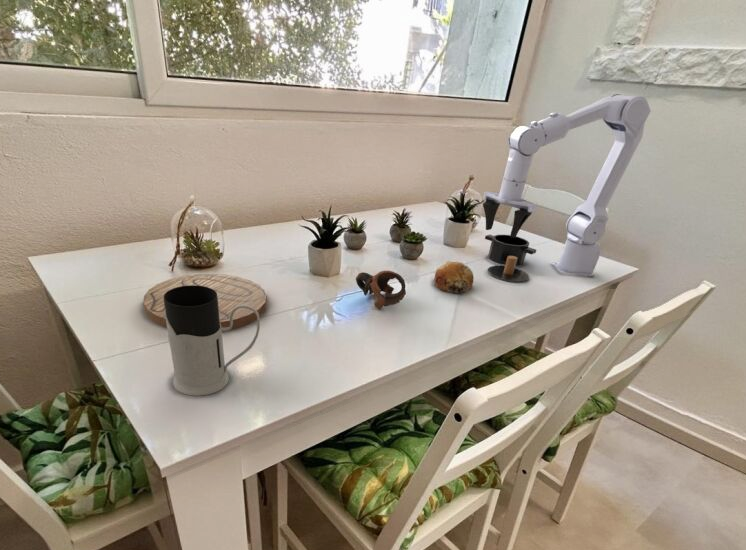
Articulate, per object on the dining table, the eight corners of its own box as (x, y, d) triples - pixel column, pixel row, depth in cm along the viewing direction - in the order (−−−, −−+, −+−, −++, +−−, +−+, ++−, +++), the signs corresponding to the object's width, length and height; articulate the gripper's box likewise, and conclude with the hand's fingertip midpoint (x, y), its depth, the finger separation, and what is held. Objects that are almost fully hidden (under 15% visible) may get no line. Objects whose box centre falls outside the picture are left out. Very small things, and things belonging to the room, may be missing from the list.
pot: (492, 250, 146) (497, 230, 142) (537, 266, 137) (544, 245, 133) (473, 256, 140) (478, 235, 136) (519, 273, 131) (526, 251, 127)
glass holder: (179, 365, 79) (166, 282, 70) (263, 366, 81) (260, 286, 72) (167, 395, 72) (151, 307, 63) (260, 396, 74) (256, 311, 65)
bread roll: (470, 299, 121) (479, 269, 120) (466, 296, 112) (476, 263, 110) (434, 290, 124) (443, 261, 123) (427, 286, 115) (436, 254, 113)
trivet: (225, 343, 86) (224, 334, 85) (116, 314, 92) (114, 305, 91) (286, 295, 106) (286, 287, 104) (193, 273, 112) (192, 266, 110)
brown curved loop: (403, 296, 112) (413, 275, 104) (391, 326, 107) (402, 306, 100) (357, 277, 111) (365, 254, 104) (344, 306, 107) (351, 285, 100)
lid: (500, 266, 134) (505, 247, 131) (535, 279, 128) (541, 260, 125) (478, 274, 128) (483, 254, 124) (514, 287, 121) (520, 267, 118)
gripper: (482, 175, 120) (470, 228, 127) (533, 187, 112) (517, 242, 119) (496, 173, 124) (483, 224, 132) (546, 184, 116) (530, 238, 124)
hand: (500, 233), depth 126 cm, fingers open, 7 cm apart
